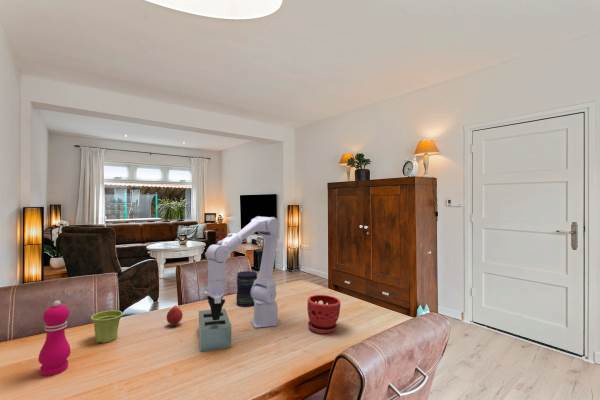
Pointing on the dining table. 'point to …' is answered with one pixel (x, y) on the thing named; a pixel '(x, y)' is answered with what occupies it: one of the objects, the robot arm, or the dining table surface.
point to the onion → (174, 316)
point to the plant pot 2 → (323, 313)
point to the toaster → (214, 331)
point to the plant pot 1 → (106, 325)
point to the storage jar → (245, 288)
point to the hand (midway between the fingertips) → (215, 317)
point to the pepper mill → (55, 341)
